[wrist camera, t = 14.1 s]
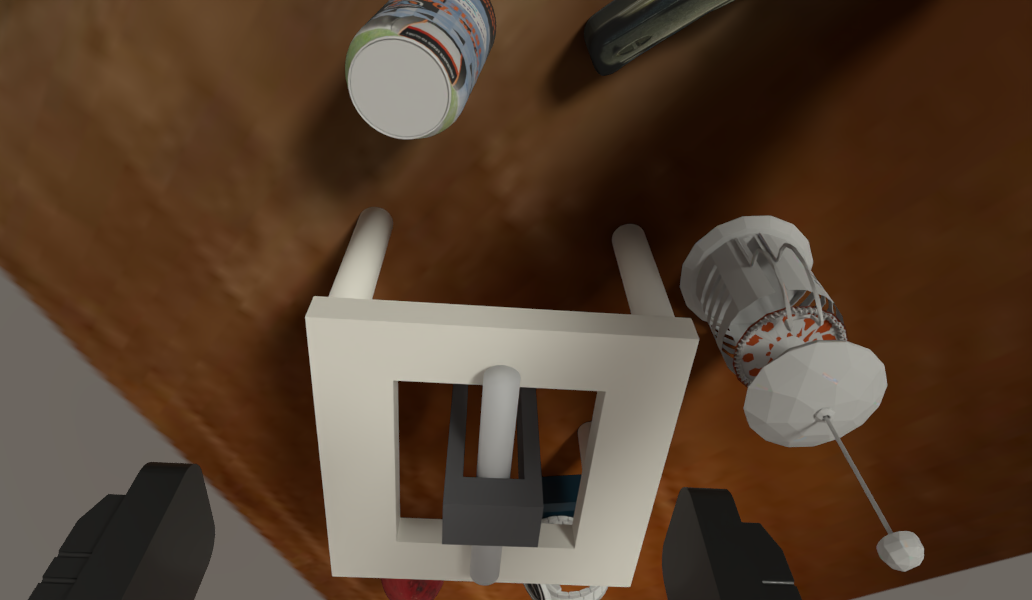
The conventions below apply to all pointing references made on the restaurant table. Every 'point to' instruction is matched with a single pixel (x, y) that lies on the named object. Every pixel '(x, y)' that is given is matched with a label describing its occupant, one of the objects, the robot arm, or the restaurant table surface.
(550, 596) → the watch
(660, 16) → the mobile phone
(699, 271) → the french press
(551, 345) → the square frame stand
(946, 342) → the restaurant table surface
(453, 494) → the grey u-shaped bracket
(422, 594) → the onion
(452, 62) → the beverage can
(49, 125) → the restaurant table surface
